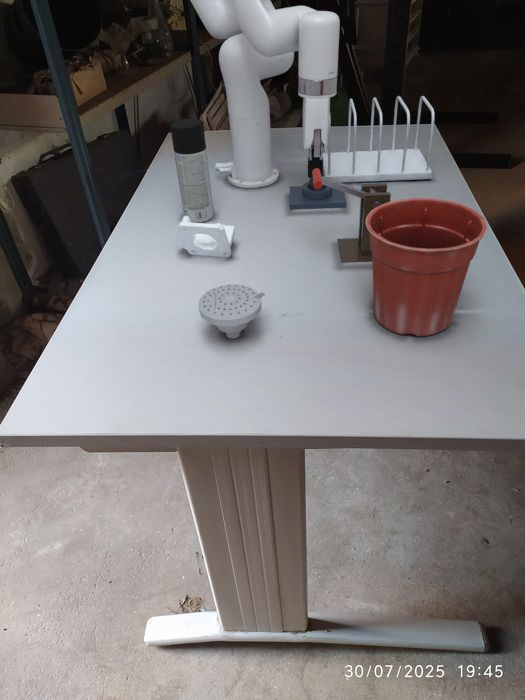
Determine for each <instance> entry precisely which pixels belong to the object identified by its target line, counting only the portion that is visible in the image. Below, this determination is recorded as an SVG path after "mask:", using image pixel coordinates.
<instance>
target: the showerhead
mask: <svg viewBox="0 0 525 700" xmlns="http://www.w3.org/2000/svg"><path fill="white" fill-rule="evenodd" d="M265 296H266V294H265V293H264V292H263V291H261V292H258V291H257V290H256V289H254V288H253V287H251V286H248V285H243V284H224V285H220V286H216V287H212V288H211V289H209V290H208V291H206V292H205V293H203V294H202V295H201V297H199V300H198V305H197V307H198V311H199V315H200V317H201V318H202V320H204V321H205V322H207V323H209V324H211V325H214V326H216V328H217V329H218V330H219V331H221V332H223V333H226V337H227V338H228V339H237V338H240V336H241V331H243V330H244V329H246V327H247V326H248V324H249V322H251V321H252V320H254V319H255V318H256V317H258V315H259V314H260V313H261V311H262V298H263V297H265Z"/></svg>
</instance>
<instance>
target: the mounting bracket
mask: <svg viewBox="0 0 525 700" xmlns="http://www.w3.org/2000/svg"><path fill="white" fill-rule="evenodd" d="M235 233H236V226H235V225H225V224H223V223H220V222H217V223H207V222H203V223H191V220H190V218H189V217H188V216H184V215H183V217H182V220H181V221H180V222H179V223H178V224H177V228H176V235H175V243H174V244H175V247H177V248H179V249H184V250H186V251H187V253H188V254H190V255H191V256H199V257H201V256H202V257H213V258H214V257H215V258H230V257H231V256H232V254H233V253H232V252H233V251H232V248H231V246H232V244H233V242H234V238H235Z"/></svg>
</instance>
